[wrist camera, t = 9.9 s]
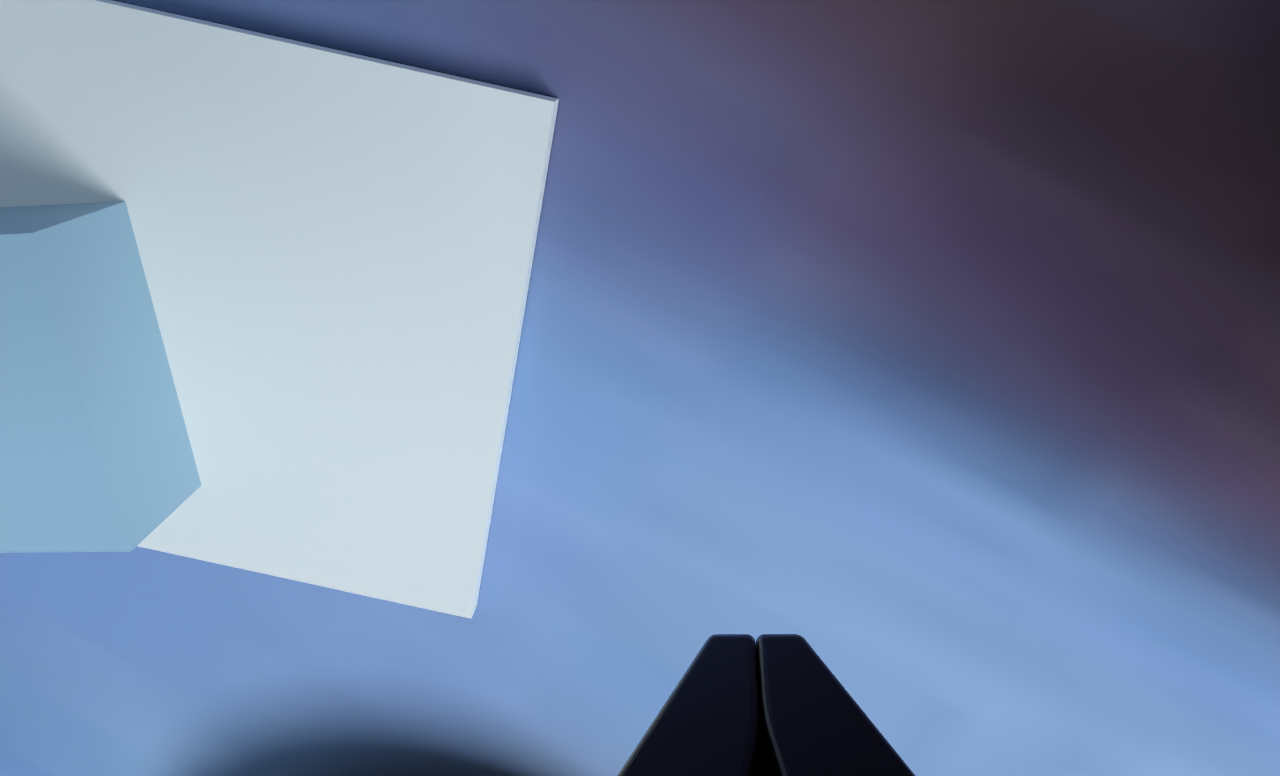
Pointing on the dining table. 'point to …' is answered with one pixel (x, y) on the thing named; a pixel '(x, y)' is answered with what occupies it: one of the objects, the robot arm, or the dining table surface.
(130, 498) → the box
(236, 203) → the mat
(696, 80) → the dining table surface
